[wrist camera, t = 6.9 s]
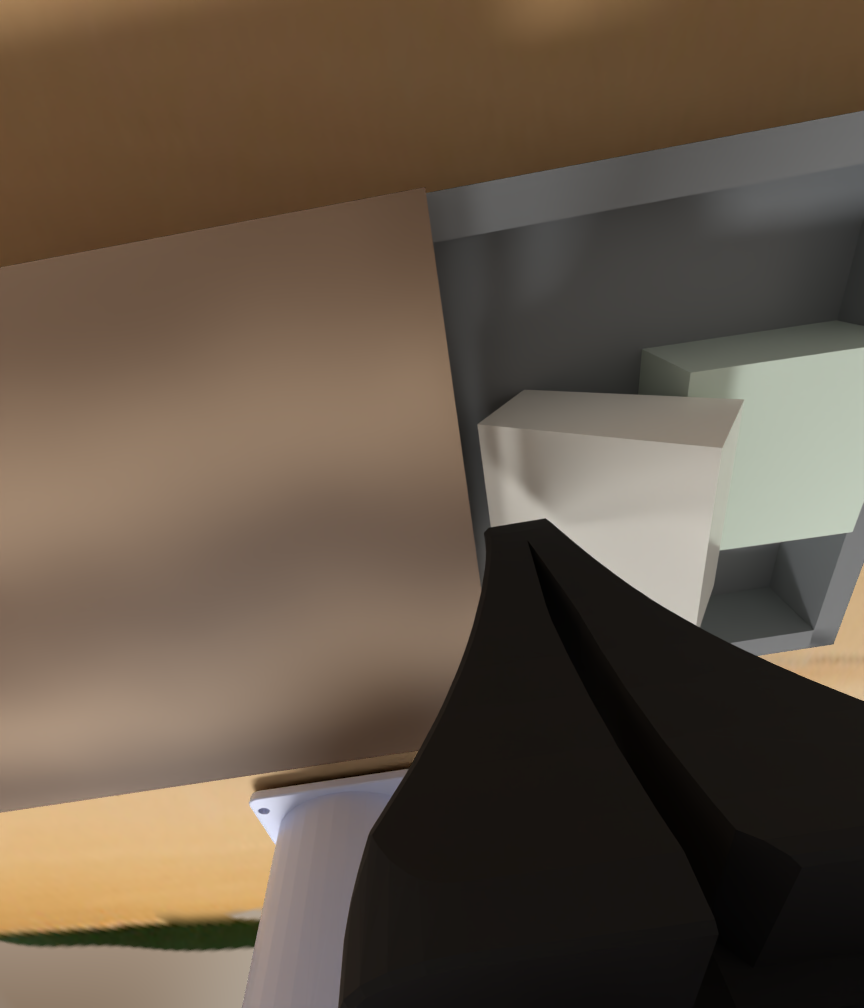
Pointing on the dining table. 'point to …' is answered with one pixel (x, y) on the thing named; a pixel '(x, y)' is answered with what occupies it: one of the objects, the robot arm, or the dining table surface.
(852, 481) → the sage tile
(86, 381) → the walnut board
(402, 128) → the dining table surface
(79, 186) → the dining table surface
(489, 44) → the dining table surface
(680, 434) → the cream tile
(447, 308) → the tray
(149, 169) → the dining table surface
